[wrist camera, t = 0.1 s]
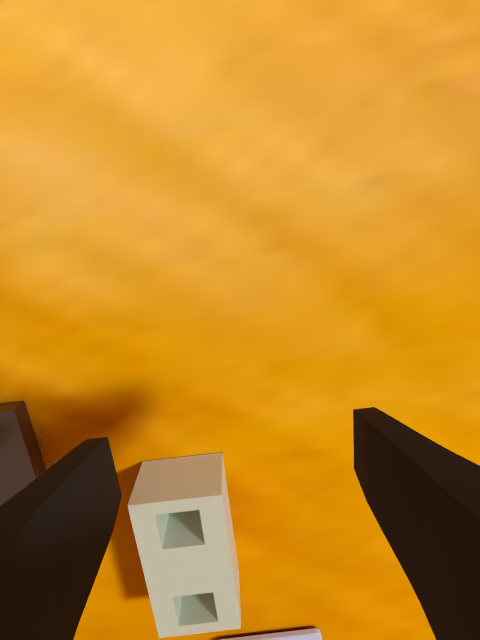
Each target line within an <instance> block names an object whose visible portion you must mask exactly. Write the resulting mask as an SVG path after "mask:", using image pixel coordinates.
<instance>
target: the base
mask: <svg viewBox="0 0 480 640" xmlns="http://www.w3.org/2000/svg"><path fill="white" fill-rule="evenodd" d="M45 471H46V470H45V467H44V463H43V460H42V457H41V454H40V451H39V447H38V444H37V441H36V438H35V435H34V431H33V428H32V425H31V422H30V419H29V415H28V412H27V409H26V406H25V403H24V401H19V402H11V403H2V404H0V506H1V505H2V504H3V503H5V502H6V501H7V500H9V499H10V498H11V497H13V496H14V495H16V494H17V493H18V492H20V491H21V490H22V489H24V488H25V487H26V486H27V485H29V484H30V483H31V482H32V481H34V480H35V479H36V478H37V477H39V476H40V475H41V474H42V473H44V472H45Z"/></svg>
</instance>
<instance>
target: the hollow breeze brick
mask: <svg viewBox="0 0 480 640" xmlns="http://www.w3.org/2000/svg"><path fill="white" fill-rule="evenodd" d="M127 506H128V510H129V515H130V519H131V523H132V527H133V531H134V535H135V540H136V544H137V548H138V552H139V556H140V560H141V564H142V569H143V573H144V577H145V581H146V585H147V589H148V593H149V598H150V602H151V606H152V610H153V614H154V618H155V622H156V627H157V631H158V635H159V638H164V637H173V636H181V635H190V634H198V633H207V632H215V631H224V630H232V629H240V628H241V614H240V587H239V569H238V562H237V555H236V548H235V541H234V533H233V526H232V519H231V512H230V505H229V497H228V490H227V483H226V476H225V468H224V461H223V454H222V452H221V453H213V454H204V455H195V456H186V457H177V458H169V459H160V460H151V461H142V464H141V467H140V470H139V473H138V476H137V479H136V482H135V485H134V488H133V491H132V494H131V497H130V499H129V502H128V505H127Z"/></svg>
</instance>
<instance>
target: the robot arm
mask: <svg viewBox="0 0 480 640" xmlns="http://www.w3.org/2000/svg"><path fill="white" fill-rule="evenodd" d="M353 419H354V469H355V472H356V475H357V477H358V480H359V483H360V485H361V488H362V490H363V493H364V495H365V498H366V500H367V503H368V504H369V506H370V508H371V510H372V512H373V514H374V516H375V518H376V520H377V522H378V523H379V525H380V527H381V529H382V531H383V533H384V535H385V537H386V538H387V540H388V542H389V544H390V546H391V548H392V550H393V551H394V553H395V555H396V557H397V559H398V561H399V563H400V564H401V566H402V568H403V570H404V572H405V574H406V576H407V577H408V579H409V581H410V583H411V585H412V587H413V589H414V591H415V593H416V595H417V597H418V599H419V601H420V603H421V605H422V608H423V610H424V612H425V615H426V617H427V619H428V621H429V624H430V626H431V628H432V631H433V633H434V635H435V638H436V640H480V466H479V465H477V464H475V463H473V462H471V461H469V460H467V459H465V458H463V457H461V456H459V455H457V454H455V453H453V452H452V451H450V450H448V449H446V448H444V447H442V446H441V445H439V444H437V443H435V442H433V441H432V440H430V439H428V438H426V437H425V436H423V435H421V434H419V433H418V432H416V431H414V430H413V429H411V428H409V427H408V426H406V425H404V424H403V423H401V422H399V421H398V420H396V419H394V418H392V417H391V416H389V415H387V414H386V413H384V412H382V411H380V410H378V409H377V408H375V407H372V408H363V409H354V410H353ZM120 500H121V490H120V486H119V482H118V478H117V474H116V470H115V466H114V461H113V457H112V453H111V449H110V445H109V441H108V437H104V438H95V439H87V440H85V441H84V442H82V443H81V444H79V445H78V446H77V447H75V448H74V449H73V450H71V451H70V452H69V453H68V454H66V455H65V456H64V457H63V458H61V459H60V460H59V461H58V462H56V463H55V464H54V465H53V466H51V467H50V468H49V469H48V470H46V471H45V472H44V473H42V474H41V475H40V476H39V477H37V478H36V479H35V480H34V481H32V482H31V483H30V484H29V485H27V486H26V487H25V488H24V489H22V490H21V491H20V492H18V493H17V494H16V495H14V496H13V497H11V498H10V499H9V500H7V501H6V502H5V503H3V504H2V505H1V506H0V640H73V638H74V635H75V632H76V629H77V626H78V624H79V621H80V618H81V615H82V613H83V610H84V607H85V605H86V602H87V599H88V597H89V594H90V591H91V589H92V586H93V584H94V581H95V578H96V576H97V573H98V570H99V568H100V565H101V562H102V560H103V557H104V554H105V551H106V549H107V546H108V543H109V541H110V538H111V535H112V532H113V529H114V525H115V521H116V517H117V513H118V508H119V504H120ZM220 640H322V635H321V631H320V630H319V629H317V628H311V629H303V630H294V631H286V632H277V633H269V634H260V635H252V636H243V637H235V638H227V639H220Z"/></svg>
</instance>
